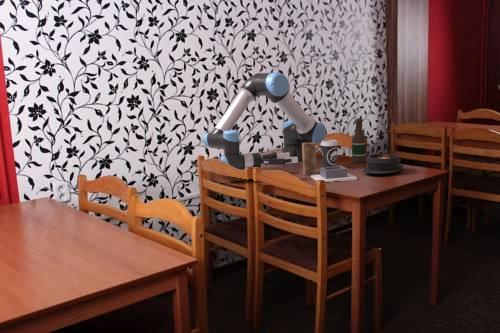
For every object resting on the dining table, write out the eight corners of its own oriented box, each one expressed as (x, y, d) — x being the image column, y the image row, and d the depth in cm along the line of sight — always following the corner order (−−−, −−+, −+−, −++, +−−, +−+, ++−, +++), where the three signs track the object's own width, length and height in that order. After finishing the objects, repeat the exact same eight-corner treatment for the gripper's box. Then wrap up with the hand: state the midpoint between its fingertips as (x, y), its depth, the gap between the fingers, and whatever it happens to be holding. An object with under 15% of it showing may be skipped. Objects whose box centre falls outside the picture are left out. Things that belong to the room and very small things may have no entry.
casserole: (380, 166, 287) (380, 150, 285) (412, 170, 274) (413, 153, 272) (353, 174, 270) (353, 158, 268) (386, 179, 256) (386, 161, 255)
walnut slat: (304, 175, 273) (303, 144, 270) (303, 174, 276) (302, 143, 273) (316, 174, 274) (315, 143, 271) (314, 173, 277) (313, 142, 274)
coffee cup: (338, 166, 290) (338, 139, 287) (339, 170, 281) (339, 141, 278) (320, 167, 291) (319, 139, 288) (321, 171, 282) (320, 142, 279)
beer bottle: (358, 164, 294) (357, 120, 289) (349, 162, 301) (348, 119, 296) (369, 162, 297) (369, 118, 293) (360, 160, 304) (359, 117, 299)
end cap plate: (321, 183, 254) (320, 172, 253) (311, 177, 268) (310, 167, 267) (356, 179, 258) (356, 169, 257) (345, 174, 271) (345, 163, 270)
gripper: (247, 164, 280) (286, 160, 284) (258, 173, 256) (301, 169, 260) (246, 149, 278) (286, 146, 283) (257, 157, 254) (300, 153, 259)
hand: (293, 157), depth 272 cm, fingers open, 13 cm apart
